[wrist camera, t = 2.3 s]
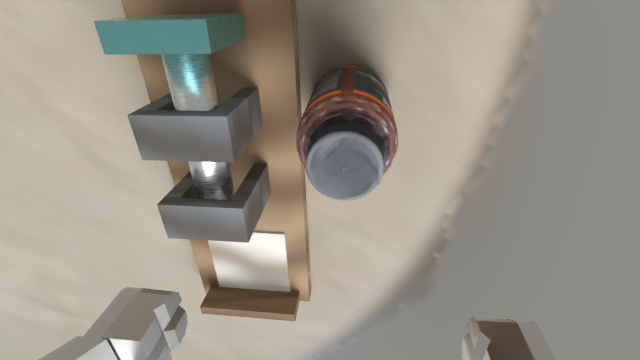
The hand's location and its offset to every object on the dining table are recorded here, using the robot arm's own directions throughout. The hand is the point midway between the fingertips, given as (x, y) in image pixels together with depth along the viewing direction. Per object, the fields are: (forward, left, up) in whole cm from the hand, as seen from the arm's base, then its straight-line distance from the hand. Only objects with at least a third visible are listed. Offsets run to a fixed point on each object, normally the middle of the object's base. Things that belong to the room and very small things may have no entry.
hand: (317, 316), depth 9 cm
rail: (+7, -10, -20) cm, 23 cm away
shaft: (0, -10, -17) cm, 20 cm away
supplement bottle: (0, 0, -20) cm, 20 cm away
